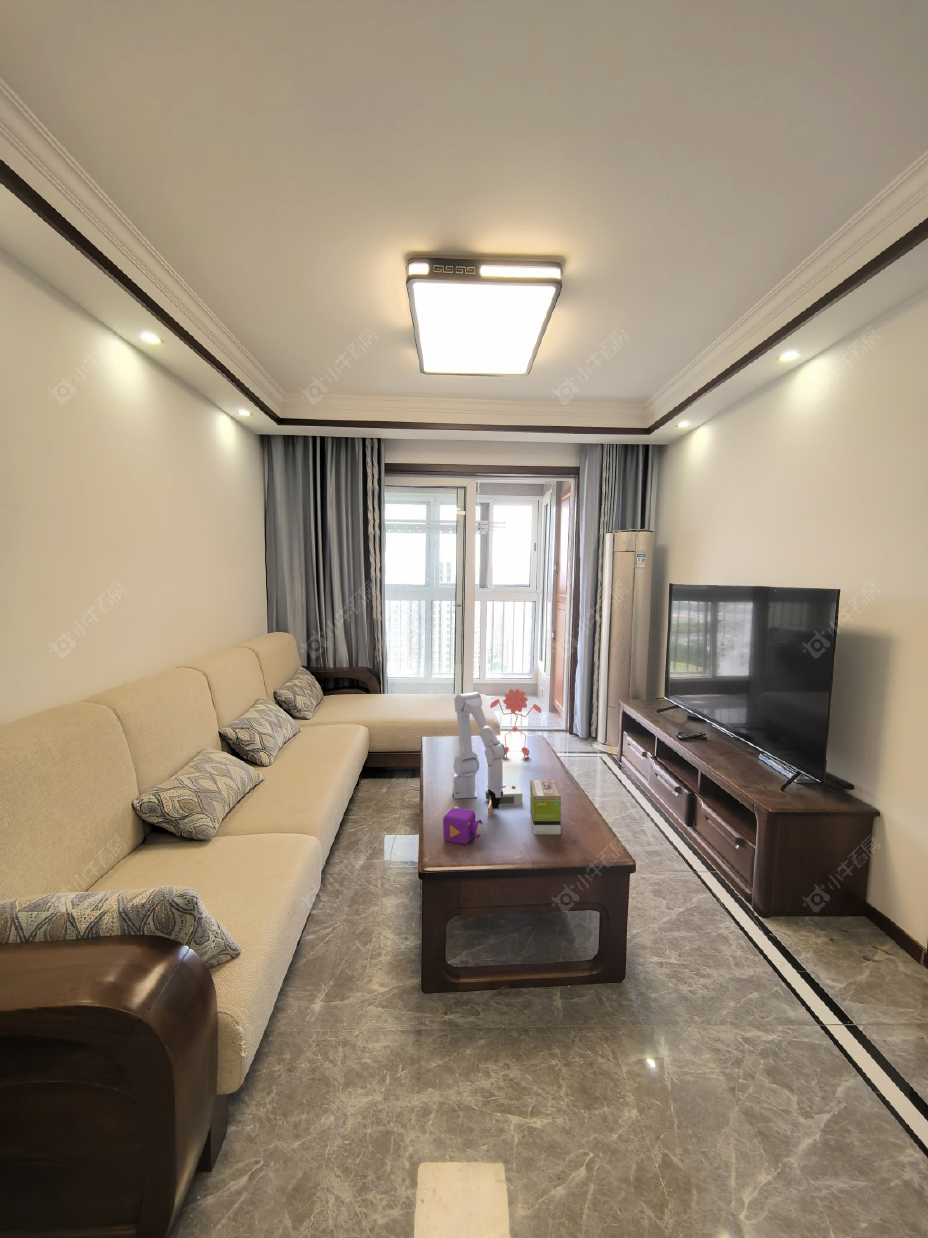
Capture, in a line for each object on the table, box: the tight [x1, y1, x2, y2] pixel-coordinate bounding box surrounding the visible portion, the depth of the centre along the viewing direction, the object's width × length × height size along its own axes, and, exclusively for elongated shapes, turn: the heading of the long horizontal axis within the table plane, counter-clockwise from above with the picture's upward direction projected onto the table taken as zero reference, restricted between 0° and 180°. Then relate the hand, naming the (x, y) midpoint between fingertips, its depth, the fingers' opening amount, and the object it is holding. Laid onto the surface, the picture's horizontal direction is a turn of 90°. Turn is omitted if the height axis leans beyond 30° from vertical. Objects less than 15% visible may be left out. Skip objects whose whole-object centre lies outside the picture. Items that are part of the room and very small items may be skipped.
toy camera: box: [442, 805, 483, 845], centre depth 191 cm, size 11×14×10 cm
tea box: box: [529, 779, 562, 835], centre depth 201 cm, size 15×10×15 cm, turn 178°
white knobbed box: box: [485, 785, 523, 806], centre depth 223 cm, size 14×8×5 cm, turn 96°
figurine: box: [489, 688, 542, 761], centre depth 277 cm, size 15×26×35 cm, turn 86°
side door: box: [487, 800, 494, 818], centre depth 213 cm, size 10×1×4 cm, turn 169°
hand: (495, 808), depth 212 cm, fingers closed
